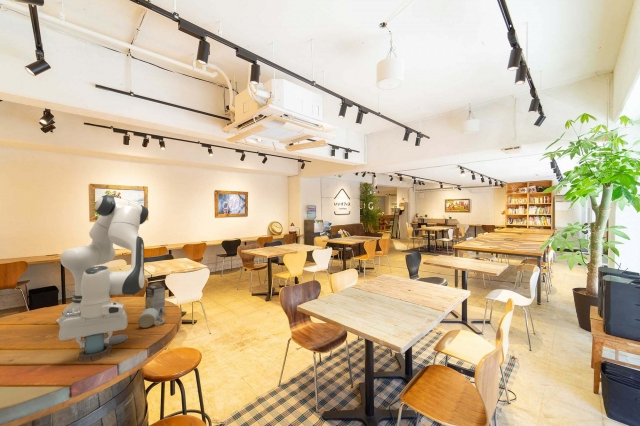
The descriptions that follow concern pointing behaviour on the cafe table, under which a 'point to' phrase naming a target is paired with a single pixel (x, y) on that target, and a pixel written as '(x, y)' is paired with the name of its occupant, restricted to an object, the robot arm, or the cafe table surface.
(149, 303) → the coffee box
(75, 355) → the cafe table surface
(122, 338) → the coaster
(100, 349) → the blue pot
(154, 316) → the ceramic mug
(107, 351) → the ring holder
